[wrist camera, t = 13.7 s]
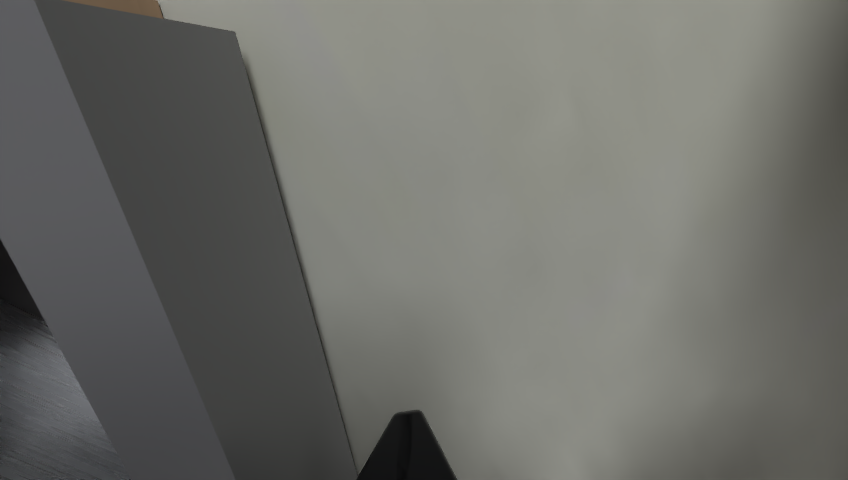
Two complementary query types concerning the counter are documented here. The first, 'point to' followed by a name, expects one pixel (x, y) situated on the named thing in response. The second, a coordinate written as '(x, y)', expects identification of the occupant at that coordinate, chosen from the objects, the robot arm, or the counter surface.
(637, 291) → the counter surface
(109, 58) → the tray
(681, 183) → the counter surface
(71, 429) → the octagonal prism
